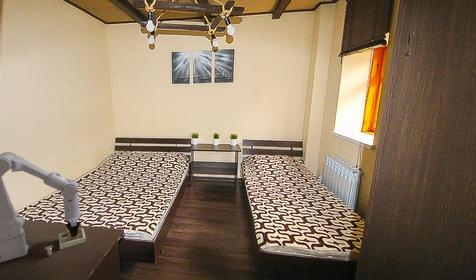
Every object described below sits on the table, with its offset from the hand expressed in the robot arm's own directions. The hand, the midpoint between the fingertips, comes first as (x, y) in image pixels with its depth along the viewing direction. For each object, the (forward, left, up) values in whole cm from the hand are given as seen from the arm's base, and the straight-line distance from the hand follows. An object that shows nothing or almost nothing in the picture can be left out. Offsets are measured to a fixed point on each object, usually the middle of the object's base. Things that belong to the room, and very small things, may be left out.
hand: (73, 233), depth 110 cm
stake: (-9, -7, -4) cm, 12 cm away
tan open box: (0, 0, -2) cm, 2 cm away
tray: (-1, 0, -4) cm, 4 cm away
